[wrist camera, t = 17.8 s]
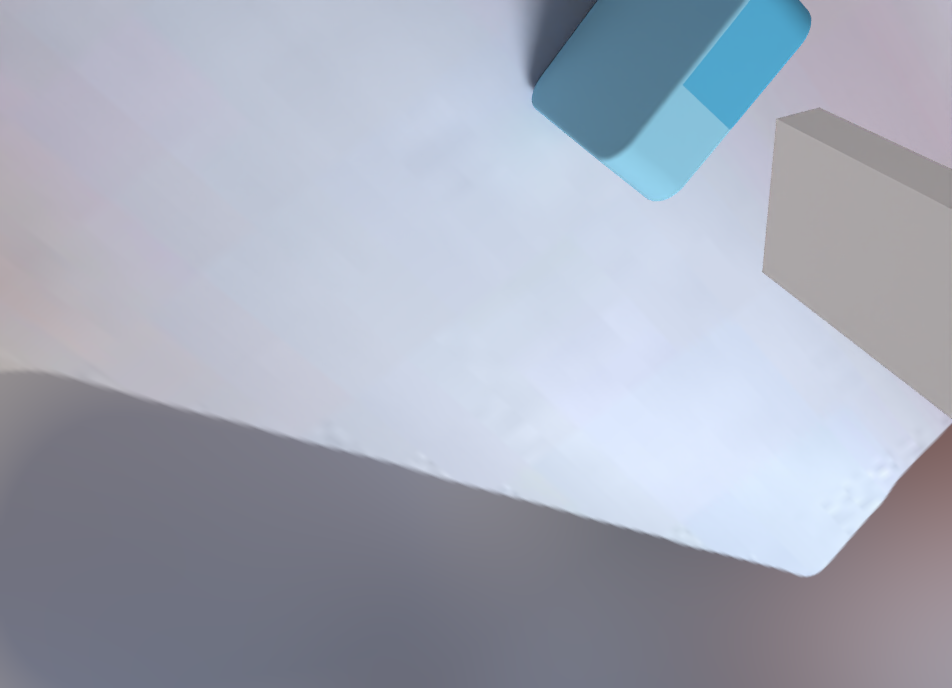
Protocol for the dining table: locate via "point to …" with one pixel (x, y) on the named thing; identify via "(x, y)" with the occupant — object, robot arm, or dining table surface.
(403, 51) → the dining table surface
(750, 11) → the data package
